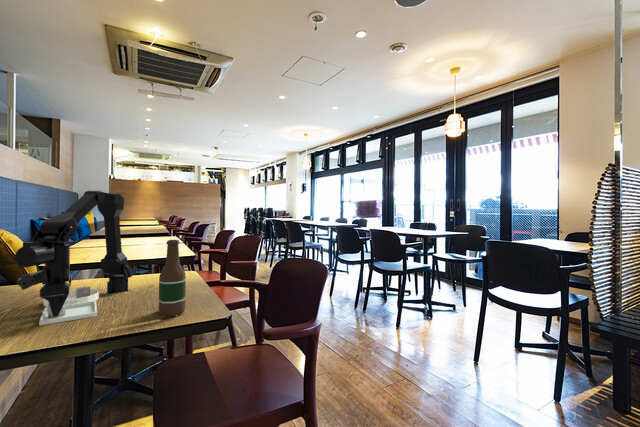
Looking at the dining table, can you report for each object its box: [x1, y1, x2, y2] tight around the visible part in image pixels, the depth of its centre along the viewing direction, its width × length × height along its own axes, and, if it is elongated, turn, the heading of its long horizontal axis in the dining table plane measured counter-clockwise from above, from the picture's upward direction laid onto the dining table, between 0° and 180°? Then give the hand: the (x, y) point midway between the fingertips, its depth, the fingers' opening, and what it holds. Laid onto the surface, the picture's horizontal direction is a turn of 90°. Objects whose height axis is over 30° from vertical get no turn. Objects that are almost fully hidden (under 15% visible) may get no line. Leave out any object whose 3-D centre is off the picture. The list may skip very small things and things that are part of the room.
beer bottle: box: [158, 239, 187, 318], centre depth 97 cm, size 8×8×24 cm
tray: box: [38, 300, 98, 327], centre depth 93 cm, size 13×14×2 cm
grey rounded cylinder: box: [75, 286, 91, 299], centre depth 108 cm, size 4×4×4 cm
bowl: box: [43, 288, 100, 308], centre depth 106 cm, size 15×15×3 cm
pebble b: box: [47, 301, 66, 318], centre depth 91 cm, size 4×4×4 cm
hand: (56, 312), depth 91 cm, fingers open, 9 cm apart
